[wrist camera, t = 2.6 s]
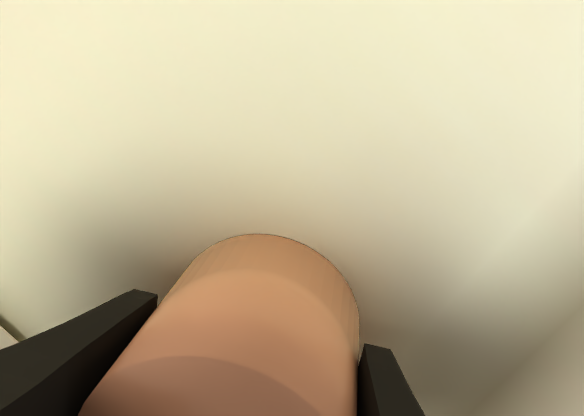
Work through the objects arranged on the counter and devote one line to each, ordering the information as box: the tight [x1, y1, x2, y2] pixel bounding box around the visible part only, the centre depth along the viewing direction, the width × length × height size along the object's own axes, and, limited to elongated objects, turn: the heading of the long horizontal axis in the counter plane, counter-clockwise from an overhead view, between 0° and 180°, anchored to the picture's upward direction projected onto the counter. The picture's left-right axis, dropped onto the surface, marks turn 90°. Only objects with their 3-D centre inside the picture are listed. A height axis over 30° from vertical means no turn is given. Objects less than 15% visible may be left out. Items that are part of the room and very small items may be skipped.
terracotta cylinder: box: [78, 234, 359, 416], centre depth 11 cm, size 5×5×5 cm
